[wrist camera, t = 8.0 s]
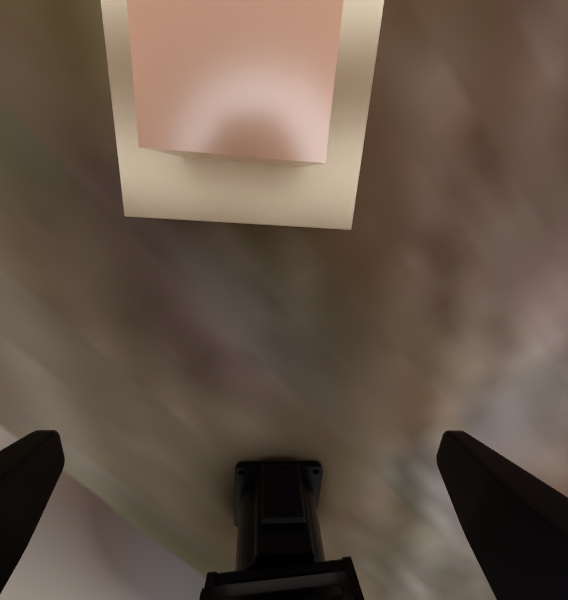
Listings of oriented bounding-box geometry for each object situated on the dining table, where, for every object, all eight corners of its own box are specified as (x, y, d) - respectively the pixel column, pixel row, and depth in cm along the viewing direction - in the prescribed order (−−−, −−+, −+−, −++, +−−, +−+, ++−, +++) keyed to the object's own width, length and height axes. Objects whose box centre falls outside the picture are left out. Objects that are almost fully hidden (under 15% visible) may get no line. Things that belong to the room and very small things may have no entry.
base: (336, 220, 17) (351, 229, 15) (147, 209, 16) (124, 216, 14) (366, -15, 14) (393, -63, 11) (125, -47, 13) (88, -108, 10)
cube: (302, 166, 13) (325, 163, 9) (181, 157, 13) (138, 147, 8) (315, 19, 12) (352, -83, 7) (175, 2, 11) (116, -121, 7)
